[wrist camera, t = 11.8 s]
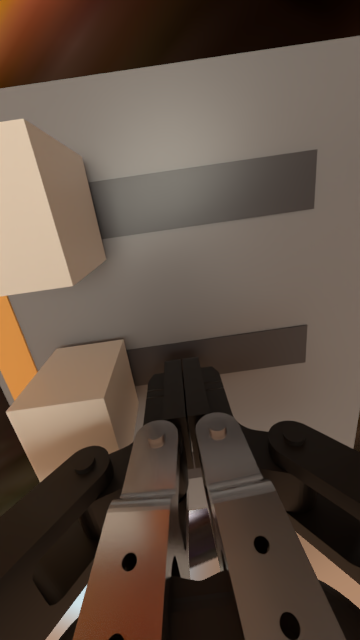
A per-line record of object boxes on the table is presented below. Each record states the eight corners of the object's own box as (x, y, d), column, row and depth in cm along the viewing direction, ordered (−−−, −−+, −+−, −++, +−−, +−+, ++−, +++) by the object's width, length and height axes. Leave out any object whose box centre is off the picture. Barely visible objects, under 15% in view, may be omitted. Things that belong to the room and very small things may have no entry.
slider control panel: (343, 82, 12) (424, 24, 8) (314, 438, 21) (347, 490, 17) (-42, 139, 12) (-135, 107, 8) (85, 470, 21) (67, 528, 17)
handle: (81, 156, 9) (23, 118, 5) (106, 259, 10) (73, 286, 7) (-5, 169, 9) (-124, 140, 5) (30, 270, 10) (-45, 302, 7)
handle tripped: (123, 339, 12) (103, 398, 8) (138, 402, 13) (127, 477, 9) (56, 348, 12) (5, 411, 8) (78, 410, 13) (43, 489, 9)
